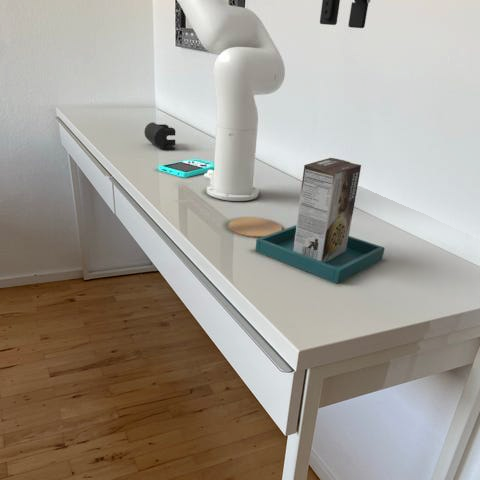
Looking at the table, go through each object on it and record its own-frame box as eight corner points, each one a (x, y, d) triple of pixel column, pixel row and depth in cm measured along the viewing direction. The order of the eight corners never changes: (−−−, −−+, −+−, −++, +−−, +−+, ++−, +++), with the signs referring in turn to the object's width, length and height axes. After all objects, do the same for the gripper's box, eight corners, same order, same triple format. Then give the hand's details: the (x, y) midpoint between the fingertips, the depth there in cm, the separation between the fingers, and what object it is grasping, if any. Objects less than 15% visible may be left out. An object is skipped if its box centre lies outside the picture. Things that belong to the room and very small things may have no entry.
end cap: (144, 144, 166) (143, 122, 163) (164, 143, 169) (164, 122, 166) (154, 150, 159) (154, 127, 156) (175, 150, 162) (176, 127, 159)
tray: (255, 251, 92) (256, 238, 91) (304, 232, 103) (305, 221, 102) (337, 283, 83) (339, 270, 82) (382, 259, 93) (384, 247, 92)
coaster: (217, 225, 103) (217, 224, 103) (252, 215, 110) (252, 214, 110) (258, 241, 97) (258, 240, 97) (292, 229, 104) (292, 228, 104)
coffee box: (317, 242, 98) (330, 156, 90) (346, 252, 94) (363, 164, 86) (290, 254, 91) (302, 163, 83) (321, 265, 88) (336, 171, 80)
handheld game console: (222, 168, 145) (222, 164, 144) (184, 178, 133) (185, 172, 132) (196, 162, 150) (196, 157, 149) (157, 170, 138) (157, 165, 137)
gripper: (365, -82, 91) (349, 27, 100) (311, -104, 80) (298, 22, 88) (404, -85, 87) (383, 30, 96) (353, -108, 76) (334, 24, 84)
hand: (342, 26), depth 92 cm, fingers open, 9 cm apart
